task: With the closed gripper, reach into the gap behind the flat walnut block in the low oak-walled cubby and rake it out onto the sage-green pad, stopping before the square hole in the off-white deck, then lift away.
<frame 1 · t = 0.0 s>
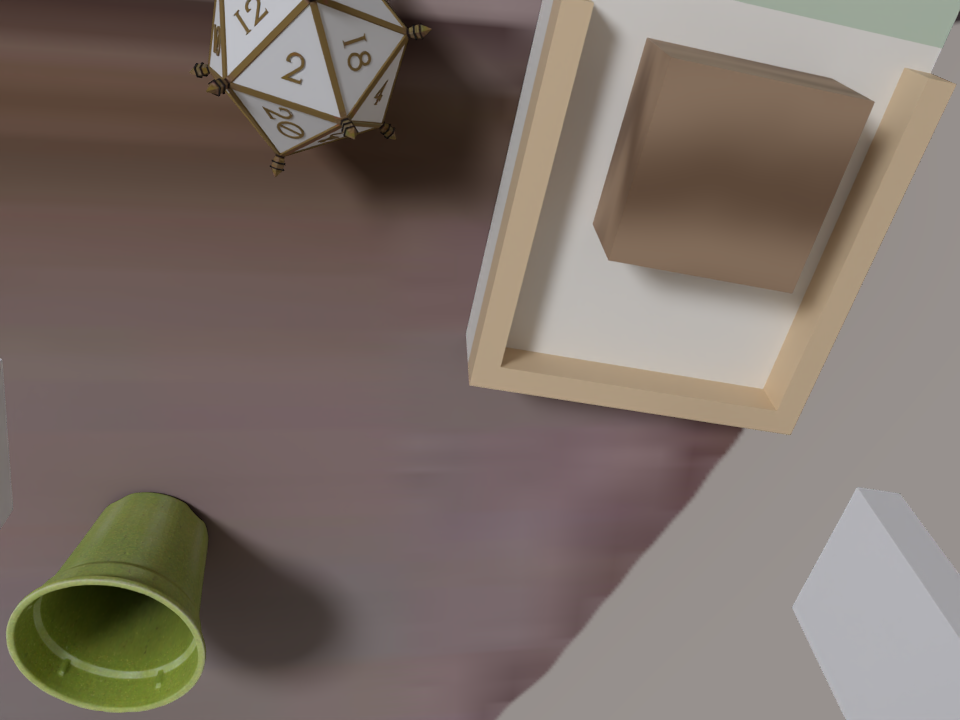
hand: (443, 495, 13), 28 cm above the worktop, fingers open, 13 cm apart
game die: (319, 32, 36), on the worktop
walnut block: (707, 153, 36), point 3 cm above the worktop, touching deck
plant pot: (157, 529, 50), on the worktop
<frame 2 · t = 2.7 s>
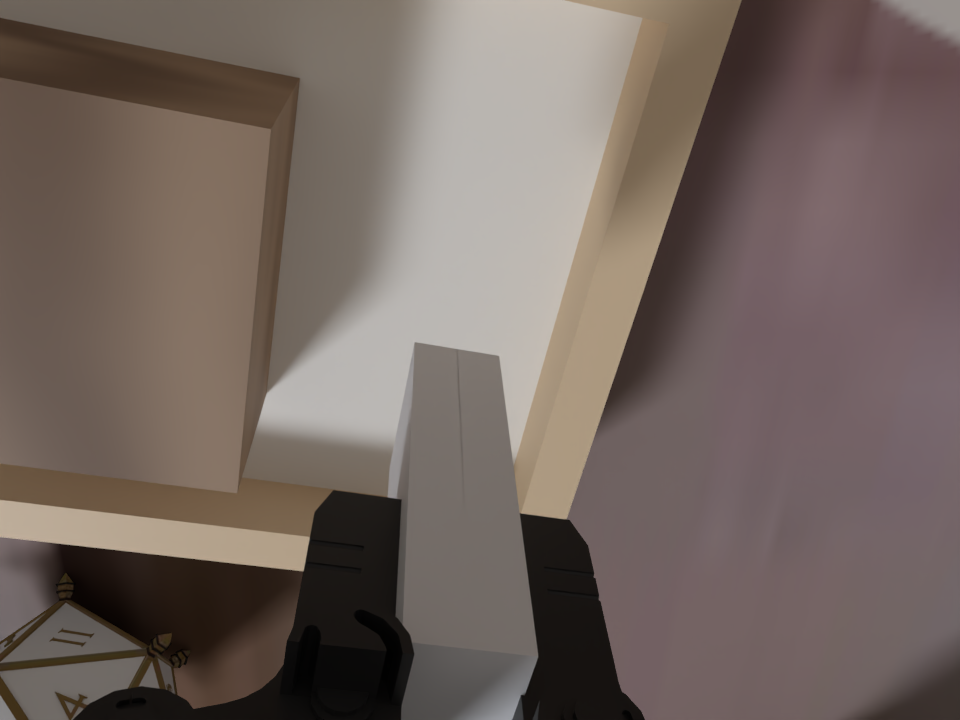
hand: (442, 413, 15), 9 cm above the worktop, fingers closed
game die: (104, 630, 30), on the worktop
walnut block: (102, 220, 19), point 3 cm above the worktop, touching deck
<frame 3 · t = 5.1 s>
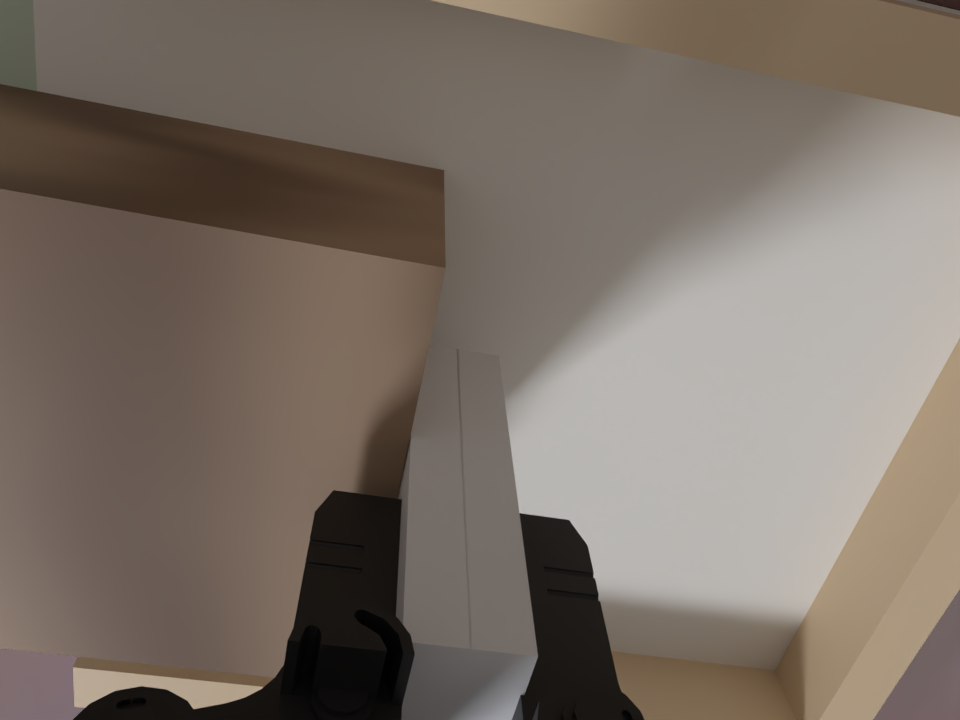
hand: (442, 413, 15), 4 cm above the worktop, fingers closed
walnut block: (188, 337, 16), point 3 cm above the worktop, touching deck
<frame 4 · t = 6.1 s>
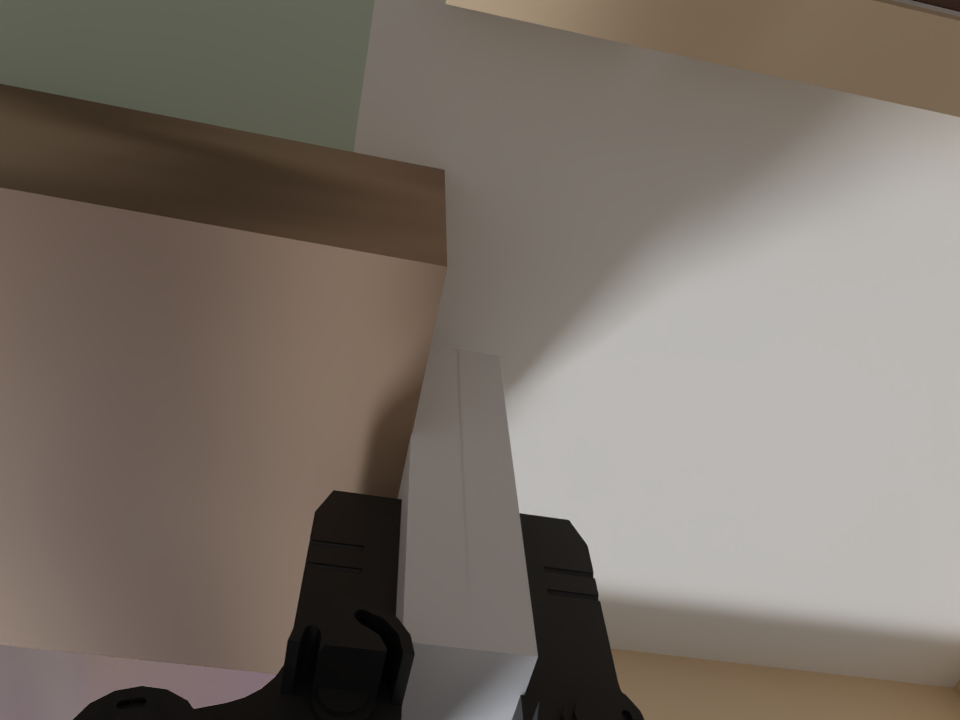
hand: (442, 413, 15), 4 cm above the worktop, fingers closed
deck: (199, 264, 18), on the worktop
walnut block: (190, 335, 16), point 3 cm above the worktop, touching gripper
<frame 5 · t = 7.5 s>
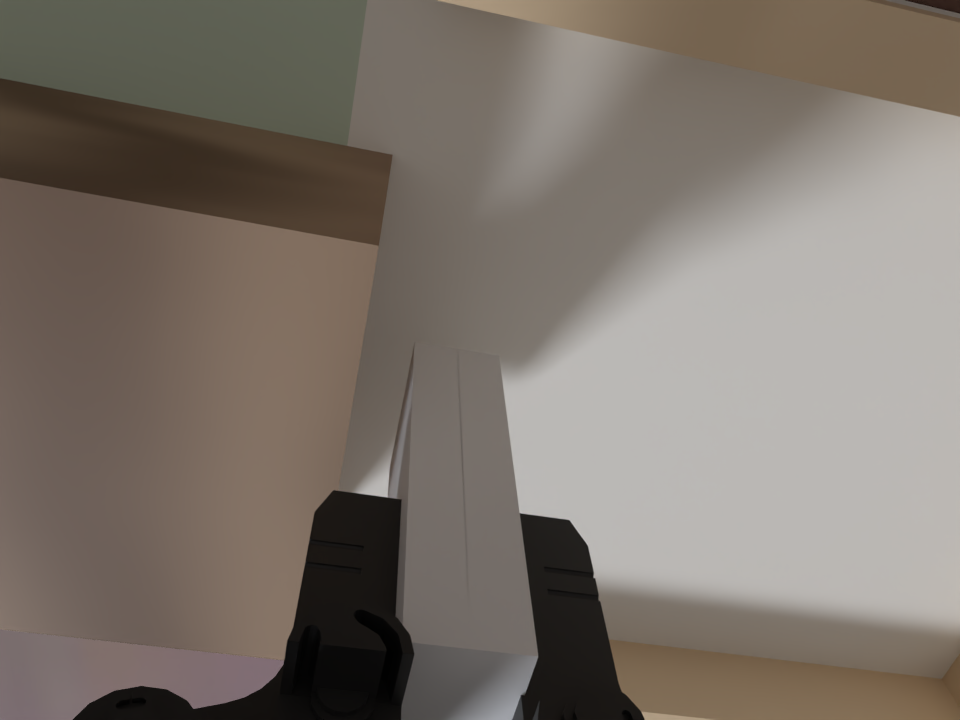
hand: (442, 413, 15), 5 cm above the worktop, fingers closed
deck: (197, 257, 19), on the worktop
walnut block: (145, 320, 16), point 3 cm above the worktop, touching deck
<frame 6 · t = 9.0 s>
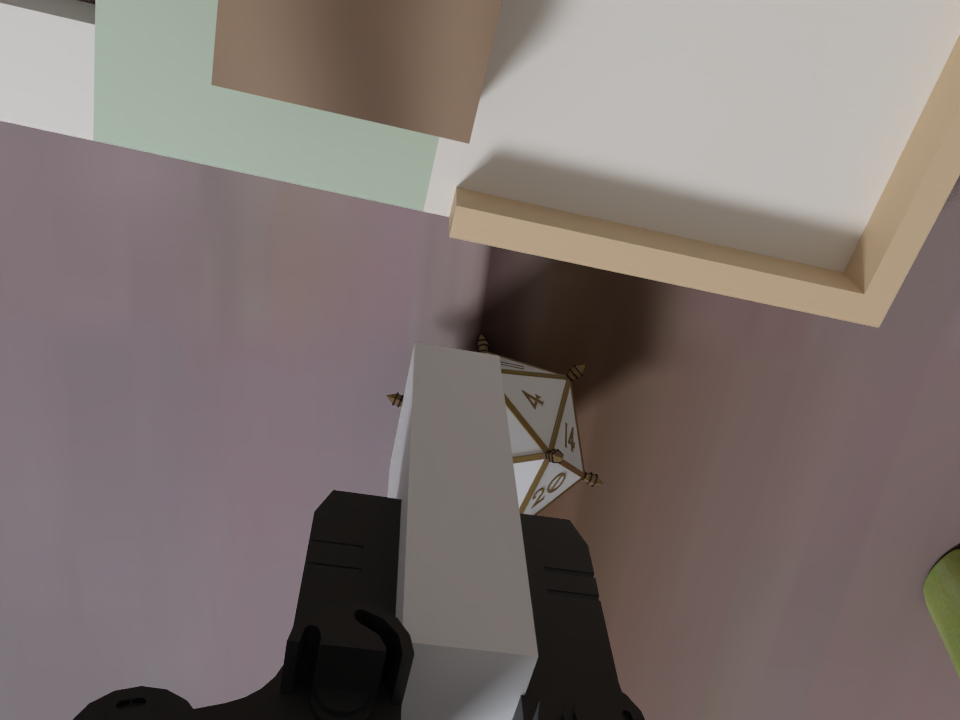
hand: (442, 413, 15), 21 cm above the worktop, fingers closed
game die: (491, 387, 40), on the worktop
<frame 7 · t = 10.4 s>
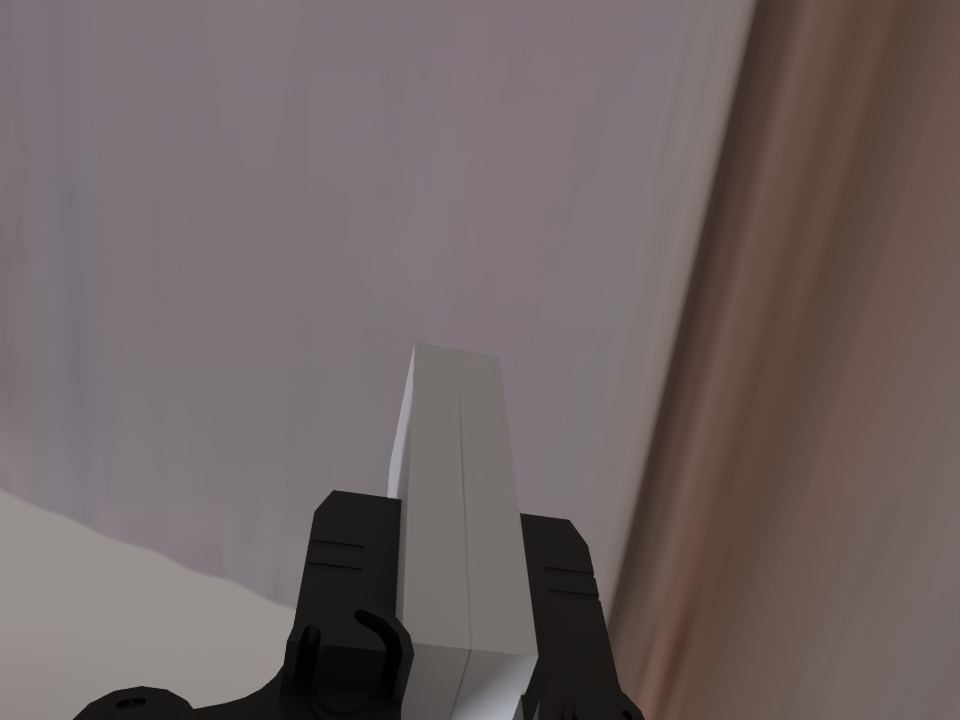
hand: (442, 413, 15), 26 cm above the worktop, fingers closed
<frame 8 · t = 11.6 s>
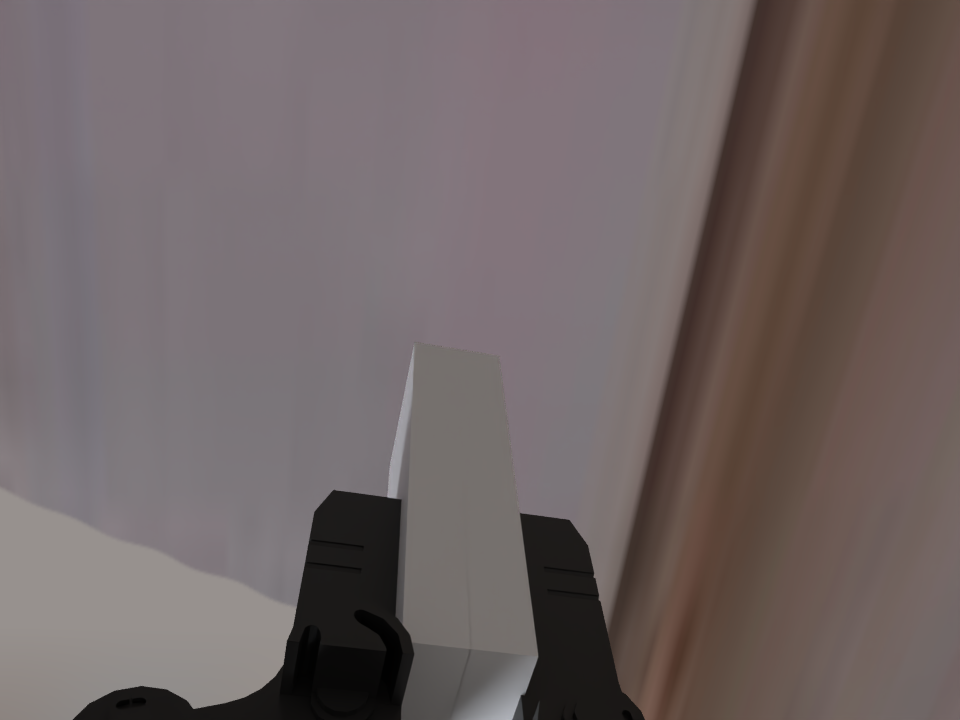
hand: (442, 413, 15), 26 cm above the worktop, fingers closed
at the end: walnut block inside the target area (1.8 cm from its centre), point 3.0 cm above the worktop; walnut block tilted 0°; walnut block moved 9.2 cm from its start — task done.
